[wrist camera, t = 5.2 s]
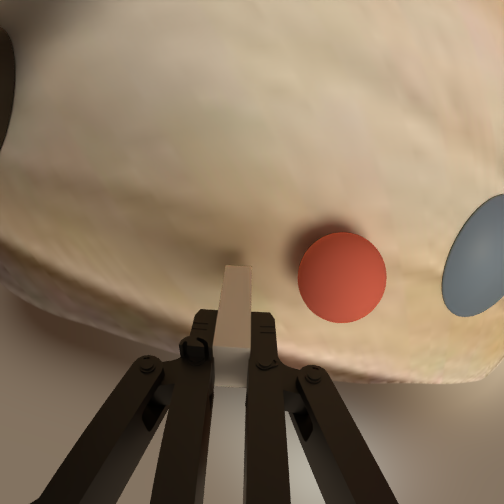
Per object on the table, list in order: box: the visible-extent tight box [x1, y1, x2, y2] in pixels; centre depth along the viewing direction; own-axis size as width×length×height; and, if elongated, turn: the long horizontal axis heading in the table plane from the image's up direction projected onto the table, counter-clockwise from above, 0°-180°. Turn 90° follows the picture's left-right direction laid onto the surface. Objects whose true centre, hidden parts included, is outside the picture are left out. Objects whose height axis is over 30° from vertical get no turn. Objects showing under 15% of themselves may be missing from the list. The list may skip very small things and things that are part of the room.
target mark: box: [442, 194, 504, 317], centre depth 20 cm, size 13×13×1 cm
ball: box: [298, 232, 386, 323], centre depth 17 cm, size 6×6×6 cm
